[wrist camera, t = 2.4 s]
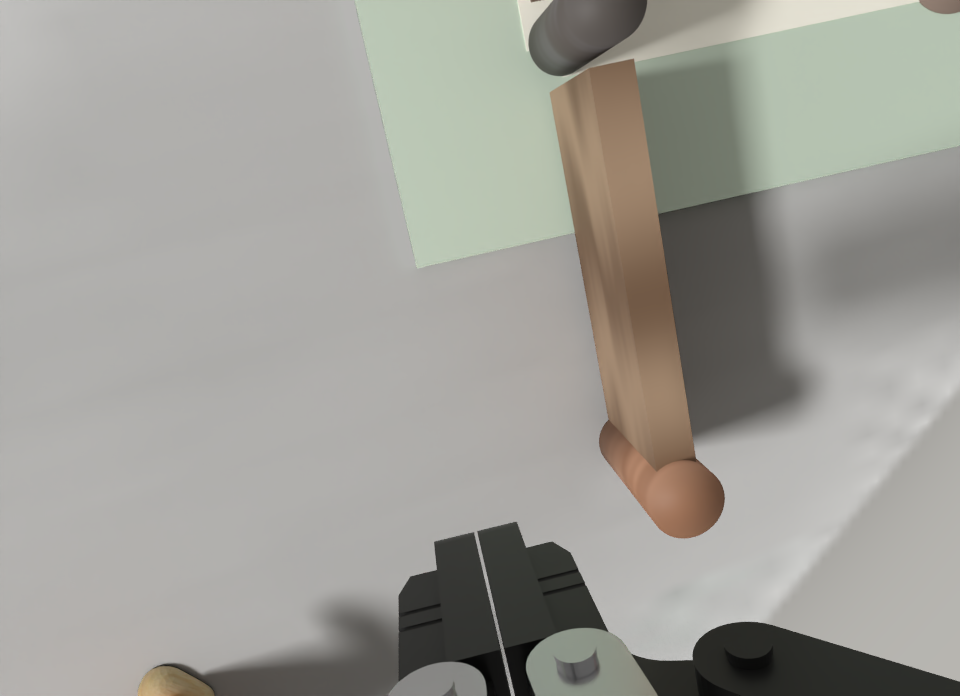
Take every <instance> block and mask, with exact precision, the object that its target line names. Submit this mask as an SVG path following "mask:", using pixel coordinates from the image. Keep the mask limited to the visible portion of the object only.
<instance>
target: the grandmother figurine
mask: <svg viewBox="0 0 960 696" xmlns="http://www.w3.org/2000/svg"><path fill="white" fill-rule="evenodd" d="M138 696H215V695H214V692H213V690H212V689H211V688H210V687H209V686H208V685H206V684H205V683H203V682H202V681H200V680H198V679H196V678H194V677H192V676H191V675H189V674H187V673H185V672H183V671H181V670H179V669H178V668H175V667H170V666H160V667H157V668H154V669H152V670H150V671H149V672H148V673H147V674H146V675H145V676H144V677H143V679H142V681H141V683H140V685H139V688H138Z"/></svg>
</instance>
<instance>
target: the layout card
mask: <svg viewBox="0 0 960 696" xmlns="http://www.w3.org/2000/svg"><path fill="white" fill-rule="evenodd" d="M552 1H553V0H541V1H536V2H531V1H530V0H355V5H356V9H357V13H358V17H359V22H360V26H361V30H362V35H363V39H364V43H365V47H366V52H367V56H368V60H369V65H370V69H371V73H372V78H373V82H374V86H375V90H376V95H377V99H378V103H379V108H380V112H381V116H382V120H383V125H384V129H385V133H386V138H387V142H388V146H389V150H390V155H391V159H392V163H393V168H394V172H395V176H396V181H397V185H398V189H399V193H400V198H401V202H402V206H403V211H404V215H405V219H406V223H407V228H408V232H409V236H410V241H411V245H412V249H413V254H414V258H415V262H416V266H417V268H421V267H425V266H430V265H434V264H439V263H443V262H448V261H452V260H456V259H461V258H465V257H470V256H474V255H479V254H483V253H487V252H492V251H496V250H501V249H505V248H510V247H514V246H518V245H523V244H527V243H532V242H536V241H541V240H545V239H549V238H554V237H558V236H563V235H567V234H572V233H575V231H574V225H573V220H572V214H571V208H570V203H569V197H568V192H567V186H566V181H565V175H564V170H563V164H562V159H561V153H560V148H559V142H558V137H557V131H556V126H555V120H554V115H553V109H552V104H551V98H550V93H549V92H551V91H553V90H554V89H556V88H557V87H559V86H561V85H562V84H564V83H565V82H567V81H569V80H570V79H572V78H574V77H575V76H577V75H578V74H580V73H582V72H583V71H585V70H586V69H588V68H591V67H596V66H601V65H606V64H610V63H615V62H620V61H624V60H629V59H634V62H635V68H636V75H637V81H638V88H639V94H640V101H641V107H642V114H643V120H644V127H645V133H646V140H647V146H648V153H649V159H650V166H651V172H652V179H653V185H654V192H655V198H656V204H657V211H658V214H660V213H665V212H669V211H674V210H678V209H682V208H687V207H691V206H696V205H700V204H705V203H709V202H713V201H718V200H722V199H727V198H731V197H736V196H740V195H744V194H749V193H753V192H758V191H762V190H767V189H771V188H775V187H780V186H784V185H789V184H793V183H798V182H802V181H806V180H811V179H815V178H820V177H824V176H829V175H833V174H837V173H842V172H846V171H851V170H855V169H860V168H864V167H868V166H873V165H877V164H882V163H886V162H891V161H895V160H899V159H904V158H908V157H913V156H917V155H922V154H926V153H930V152H935V151H939V150H944V149H948V148H953V147H957V146H960V0H647V8H646V12H645V16H644V18H643V20H642V22H641V24H640V26H639V27H638V28H637V30H636V31H635V32H634V33H633V34H632V35H630V36H629V37H628V38H626V39H625V40H623V41H622V42H620V43H618V44H617V45H615V46H614V47H612V48H611V49H609V50H608V51H606V52H605V53H603V54H601V55H600V56H598V57H597V58H595V59H594V60H592V61H591V62H589V63H588V64H586V65H584V66H583V67H581V68H580V69H578V70H577V71H575V72H574V73H572V74H569V75H566V76H553V75H549V74H547V73H545V72H543V71H542V70H541V69H540V68H538V66H537V65H536V64H535V63H534V61H533V59H532V57H531V55H530V52H529V46H528V40H529V34H530V31H531V28H532V26H533V24H534V23H535V21H536V20H537V19H538V18H539V16H540V15H541V14H542V13H543V12H544V10H545V9H546V8H547V7H548V6H549V5H550V3H551V2H552Z"/></svg>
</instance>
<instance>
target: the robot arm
mask: <svg viewBox="0 0 960 696" xmlns="http://www.w3.org/2000/svg"><path fill="white" fill-rule="evenodd" d="M477 532H478V537H479V541H480V545H481V550H482V554H483V559H484V563H485V567H486V572H487V576H488V580H489V585H490V589H491V594H492V598H493V602H494V607H495V611H496V616H497V620H498V624H499V629H500V633H501V637H502V642H503V646H504V650H505V655H506V659H507V663H508V667H509V672H510V676H511V680H512V685H513V689H514V693H515V696H960V682H958V681H955V680H952V679H949V678H945V677H942V676H939V675H936V674H932V673H929V672H925V671H922V670H919V669H916V668H912V667H909V666H906V665H902V664H899V663H896V662H892V661H889V660H886V659H883V658H879V657H876V656H872V655H869V654H866V653H863V652H859V651H856V650H853V649H849V648H846V647H843V646H839V645H836V644H833V643H829V642H826V641H823V640H819V639H816V638H813V637H810V636H806V635H803V634H799V633H796V632H793V631H790V630H786V629H783V628H780V627H776V626H773V625H769V624H765V623H758V622H736V623H731V624H726V625H723V626H719V627H717V628H715V629H712V630H710V631H709V632H707V633H706V634H704V635H703V636H702V637H701V638H700V639H699V640H698V642H697V643H696V645H695V647H694V649H693V660H684V661H658V660H650V659H646V658H641V657H638V656H635V655H633V654H631V653H630V652H629V650H628V648H627V647H626V645H625V644H624V643H623V642H622V640H621V639H619V638H618V637H617V636H615V635H613V634H611V633H609V632H608V630H607V628H606V626H605V624H604V622H603V620H602V618H601V615H600V613H599V611H598V609H597V607H596V605H595V603H594V601H593V599H592V597H591V595H590V593H589V590H588V588H587V586H585V582H584V580H583V578H582V576H581V574H580V572H579V571H578V568H577V566H576V563H575V561H574V559H573V557H572V555H571V553H570V552H568V551H567V550H565V549H563V548H562V547H560V546H559V545H557V544H555V543H554V542H548V543H544V544H540V545H536V546H532V547H528V548H526V546H525V544H524V541H523V538H522V535H521V533H520V530H519V527H518V524H517V522H513V523H509V524H505V525H501V526H497V527H492V528H488V529H484V530H480V531H477ZM434 545H435V555H436V565H437V570H435V571H431V572H427V573H423V574H419V575H415V576H411V577H410V578H409V580H408V581H407V583H406V585H405V586H404V588H403V589H402V591H401V593H400V594H399V682H398V683H397V684H396V685H395V686H394V687H393V688H392V690H391V691H390V693H389V694H388V696H511V694H510V689H509V685H508V680H507V676H506V671H505V667H504V663H503V658H502V654H501V649H500V645H499V640H498V636H497V631H496V627H495V623H494V618H493V614H492V610H491V605H490V601H489V596H488V592H487V588H486V583H485V579H484V575H483V570H482V566H481V562H480V557H479V553H478V549H477V544H476V540H475V536H474V532H473V533H468V534H464V535H460V536H456V537H452V538H448V539H444V540H440V541H436V542H434Z"/></svg>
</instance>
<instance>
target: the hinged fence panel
mask: <svg viewBox="0 0 960 696" xmlns="http://www.w3.org/2000/svg"><path fill="white" fill-rule="evenodd" d="M646 8H647V0H553V1H552V2H551V3H550V5H549V6H548V7H547V8H546V9H545V10H544V12H543V13H542V14H541V15H540V16H539V18H538V19H537V20H536V21H535V23H534V24H533V26H532V28H531V31H530V34H529V40H528V46H529V52H530V55H531V57H532V59H533V61H534V63H535V64H536V65H537V66H538V68H540V69H541V70H542V71H543V72H545V73H547V74H549V75H553V76H566V75H569V74H572V73H574V72H575V71H577V70H578V69H580V68H581V67H583V66H584V65H586V64H588V63H589V62H591V61H592V60H594V59H595V58H597V57H598V56H600V55H601V54H603V53H605V52H606V51H608V50H609V49H611V48H612V47H614V46H615V45H617V44H618V43H620V42H622V41H623V40H625V39H626V38H628V37H629V36H630V35H632V34H633V33H634V32H635V31H636V30H637V28H638V27H639V26H640V24H641V22H642V20H643V18H644V16H645V12H646ZM549 93H550V98H551V104H552V109H553V115H554V120H555V126H556V131H557V137H558V142H559V148H560V153H561V159H562V164H563V170H564V175H565V181H566V186H567V192H568V197H569V203H570V208H571V214H572V220H573V225H574V231H575V236H576V242H577V247H578V253H579V258H580V264H581V269H582V275H583V280H584V286H585V291H586V297H587V302H588V308H589V313H590V319H591V324H592V330H593V335H594V341H595V346H596V352H597V357H598V363H599V369H600V374H601V380H602V385H603V391H604V396H605V402H606V407H607V413H608V418H609V420H608V421H607V422H606V423H605V425H604V426H603V428H602V430H601V433H600V438H599V446H600V450H601V453H602V455H603V456H604V458H605V459H606V460H607V462H608V463H609V464H610V466H611V467H612V468H613V470H614V471H615V472H616V473H617V475H618V476H619V477H620V479H621V480H622V481H623V482H624V484H625V485H626V486H627V488H628V489H629V490H630V492H631V493H632V494H633V495H634V497H635V498H636V499H637V501H638V502H639V503H640V505H641V506H642V507H643V508H644V510H645V511H646V512H647V514H648V515H649V516H650V517H651V519H652V520H653V521H654V523H655V524H656V525H657V526H658V528H659V529H660V530H661V531H663V532H664V533H666V534H667V535H669V536H672V537H676V538H691V537H695V536H698V535H700V534H702V533H704V532H706V531H707V530H709V529H710V528H711V527H712V526H713V525H714V524H715V523H716V522H717V520H718V519H719V517H720V515H721V513H722V510H723V507H724V500H725V497H724V490H723V487H722V485H721V483H720V481H719V480H718V478H717V477H716V476H715V475H714V474H713V473H712V472H710V471H709V470H708V469H707V468H706V467H705V466H704V465H703V464H702V463H701V462H699V461H698V460H697V459H696V457H695V451H694V444H693V438H692V431H691V425H690V418H689V412H688V405H687V399H686V392H685V386H684V379H683V373H682V366H681V360H680V353H679V347H678V340H677V334H676V328H675V321H674V315H673V308H672V302H671V295H670V289H669V282H668V276H667V269H666V263H665V256H664V250H663V243H662V237H661V230H660V224H659V217H658V211H657V204H656V198H655V192H654V185H653V179H652V172H651V166H650V159H649V153H648V146H647V140H646V133H645V127H644V120H643V114H642V107H641V101H640V94H639V88H638V81H637V75H636V68H635V62H634V59H629V60H624V61H620V62H615V63H610V64H606V65H601V66H596V67H591V68H588V69H586V70H585V71H583V72H582V73H580V74H578V75H577V76H575V77H574V78H572V79H570V80H569V81H567V82H565V83H564V84H562V85H561V86H559V87H557V88H556V89H554V90H553V91H551V92H549Z"/></svg>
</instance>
